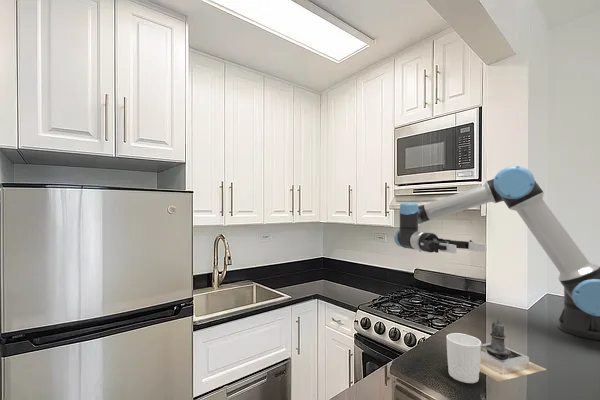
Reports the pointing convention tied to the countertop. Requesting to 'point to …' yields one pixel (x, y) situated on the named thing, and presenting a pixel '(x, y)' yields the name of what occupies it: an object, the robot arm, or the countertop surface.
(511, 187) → the robot arm
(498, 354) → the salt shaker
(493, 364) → the collar
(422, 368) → the countertop surface
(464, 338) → the white cup
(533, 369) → the flange board
